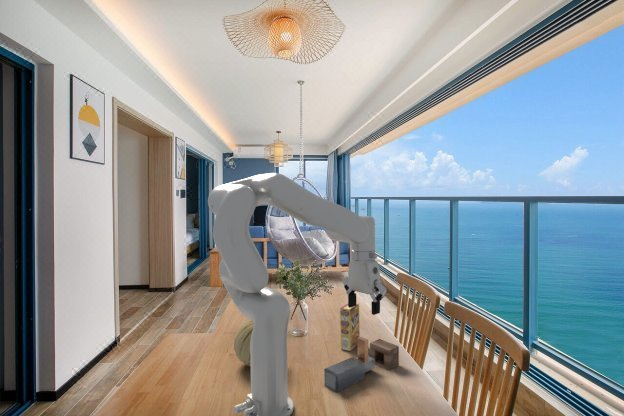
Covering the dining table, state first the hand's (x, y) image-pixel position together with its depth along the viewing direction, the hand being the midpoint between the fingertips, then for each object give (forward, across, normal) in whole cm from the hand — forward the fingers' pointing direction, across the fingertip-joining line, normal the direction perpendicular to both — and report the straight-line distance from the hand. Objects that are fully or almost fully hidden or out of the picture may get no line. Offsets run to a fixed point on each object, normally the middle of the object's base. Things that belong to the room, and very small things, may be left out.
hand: (363, 309), depth 113 cm
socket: (+20, 0, -10) cm, 22 cm away
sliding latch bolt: (+19, 0, +5) cm, 20 cm away
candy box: (+20, +17, -11) cm, 29 cm away
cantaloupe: (+20, +27, +23) cm, 41 cm away
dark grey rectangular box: (+20, 0, +9) cm, 22 cm away
